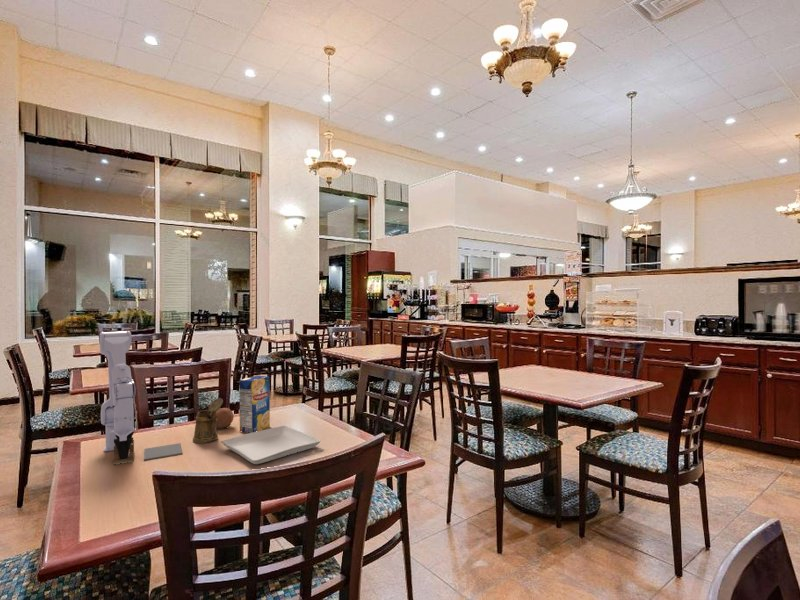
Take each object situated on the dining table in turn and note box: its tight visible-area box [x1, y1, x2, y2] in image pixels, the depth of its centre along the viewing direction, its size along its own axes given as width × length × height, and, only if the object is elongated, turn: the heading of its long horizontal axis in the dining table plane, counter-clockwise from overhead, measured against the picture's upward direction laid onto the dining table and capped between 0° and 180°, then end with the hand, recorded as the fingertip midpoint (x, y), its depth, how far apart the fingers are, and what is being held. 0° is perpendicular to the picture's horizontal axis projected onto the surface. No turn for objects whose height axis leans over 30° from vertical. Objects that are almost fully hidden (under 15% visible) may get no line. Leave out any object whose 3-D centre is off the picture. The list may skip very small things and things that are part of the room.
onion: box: [216, 407, 234, 430], centre depth 187 cm, size 10×9×10 cm
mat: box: [143, 442, 184, 461], centre depth 158 cm, size 12×12×1 cm
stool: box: [112, 439, 136, 465], centre depth 150 cm, size 6×6×6 cm
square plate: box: [220, 425, 321, 465], centre depth 161 cm, size 27×27×4 cm
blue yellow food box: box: [238, 375, 271, 434], centre depth 185 cm, size 7×11×22 cm, turn 157°
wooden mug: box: [192, 397, 224, 444], centre depth 170 cm, size 9×14×18 cm, turn 60°
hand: (124, 455), depth 150 cm, fingers closed on stool, 5 cm apart
